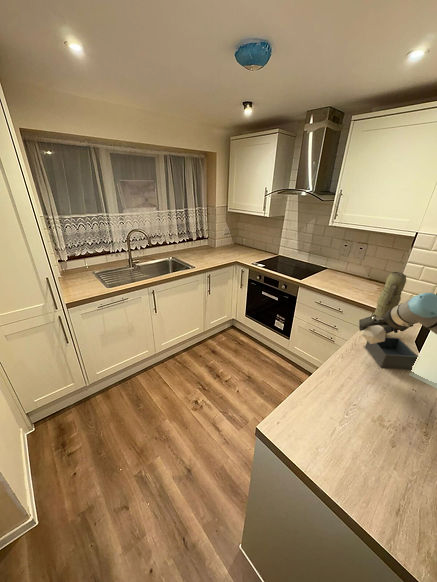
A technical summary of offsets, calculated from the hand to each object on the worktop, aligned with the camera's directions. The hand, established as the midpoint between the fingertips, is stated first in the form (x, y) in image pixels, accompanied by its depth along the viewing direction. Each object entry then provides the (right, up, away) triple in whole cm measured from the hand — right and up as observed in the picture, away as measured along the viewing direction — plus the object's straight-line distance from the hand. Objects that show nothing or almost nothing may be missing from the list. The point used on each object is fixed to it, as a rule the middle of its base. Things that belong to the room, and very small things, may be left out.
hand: (372, 329), depth 103 cm
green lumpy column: (+19, -6, +26) cm, 32 cm away
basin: (+12, -15, +8) cm, 21 cm away
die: (-1, -5, -1) cm, 5 cm away
